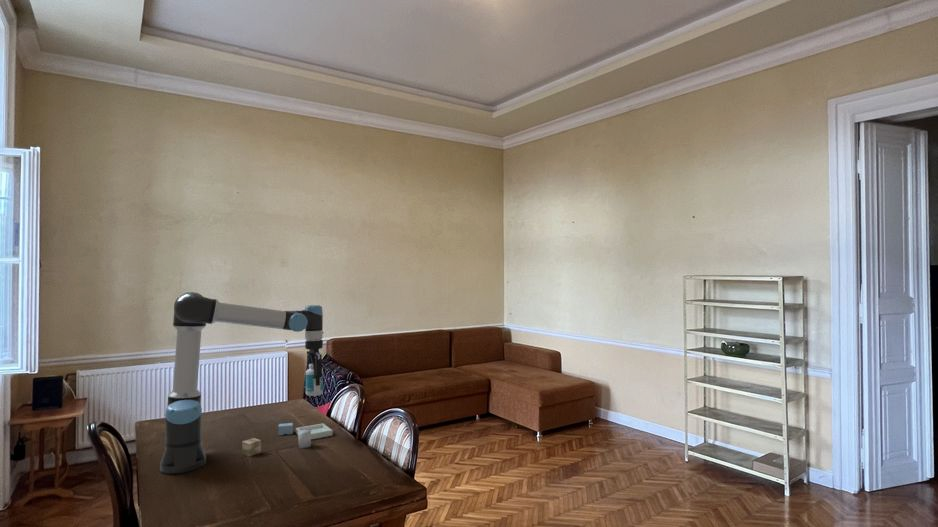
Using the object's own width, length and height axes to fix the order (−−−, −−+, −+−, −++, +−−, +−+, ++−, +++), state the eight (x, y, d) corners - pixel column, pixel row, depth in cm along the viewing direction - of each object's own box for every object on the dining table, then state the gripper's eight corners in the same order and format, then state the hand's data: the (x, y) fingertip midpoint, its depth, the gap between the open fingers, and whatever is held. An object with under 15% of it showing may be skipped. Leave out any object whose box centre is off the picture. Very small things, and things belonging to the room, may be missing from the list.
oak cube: (249, 456, 201) (249, 443, 201) (242, 453, 204) (242, 441, 204) (260, 452, 205) (260, 440, 205) (253, 450, 208) (253, 438, 208)
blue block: (278, 435, 227) (278, 426, 227) (278, 432, 230) (278, 424, 230) (292, 434, 228) (292, 425, 228) (292, 431, 232) (292, 422, 232)
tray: (304, 440, 219) (304, 435, 219) (295, 433, 229) (295, 428, 229) (332, 435, 226) (332, 430, 226) (323, 428, 236) (323, 423, 236)
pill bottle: (319, 396, 224) (319, 365, 224) (303, 396, 224) (303, 365, 224) (325, 392, 232) (324, 362, 232) (308, 392, 232) (308, 362, 232)
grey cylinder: (300, 448, 209) (300, 434, 209) (296, 445, 213) (296, 431, 213) (312, 446, 212) (312, 432, 212) (308, 443, 216) (308, 429, 216)
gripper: (329, 341, 222) (330, 394, 222) (315, 336, 239) (315, 385, 238) (312, 343, 218) (312, 396, 217) (299, 338, 234) (299, 387, 234)
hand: (314, 390), depth 228 cm, fingers closed on pill bottle, 7 cm apart
